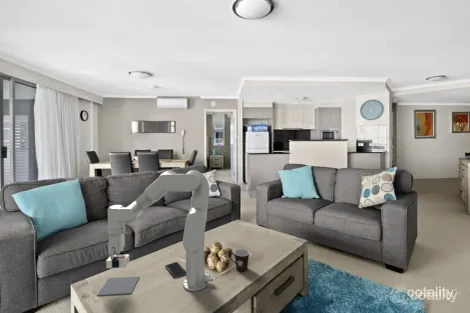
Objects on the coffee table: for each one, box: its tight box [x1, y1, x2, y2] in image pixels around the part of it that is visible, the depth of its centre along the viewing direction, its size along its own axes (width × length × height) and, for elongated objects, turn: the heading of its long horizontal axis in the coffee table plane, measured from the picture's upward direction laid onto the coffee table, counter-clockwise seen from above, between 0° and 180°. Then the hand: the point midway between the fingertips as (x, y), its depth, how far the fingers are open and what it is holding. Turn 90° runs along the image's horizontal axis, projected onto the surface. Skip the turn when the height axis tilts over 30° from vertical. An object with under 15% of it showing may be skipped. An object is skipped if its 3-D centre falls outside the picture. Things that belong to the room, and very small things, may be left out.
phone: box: [164, 261, 186, 279], centre depth 143 cm, size 8×1×15 cm
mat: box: [97, 275, 140, 297], centre depth 128 cm, size 16×14×1 cm
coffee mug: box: [228, 248, 250, 273], centre depth 145 cm, size 12×9×10 cm
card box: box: [105, 253, 130, 269], centre depth 127 cm, size 6×9×4 cm, turn 92°
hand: (118, 263), depth 127 cm, fingers closed on card box, 6 cm apart
